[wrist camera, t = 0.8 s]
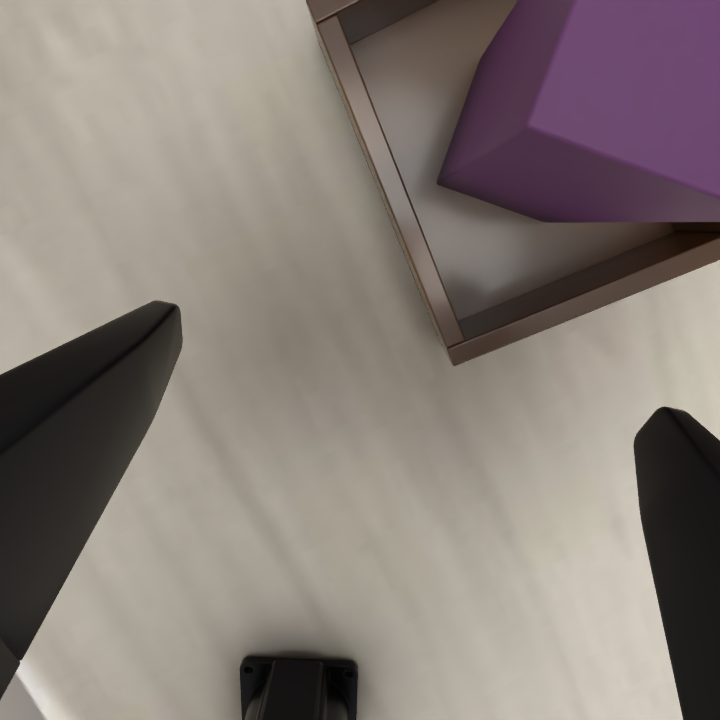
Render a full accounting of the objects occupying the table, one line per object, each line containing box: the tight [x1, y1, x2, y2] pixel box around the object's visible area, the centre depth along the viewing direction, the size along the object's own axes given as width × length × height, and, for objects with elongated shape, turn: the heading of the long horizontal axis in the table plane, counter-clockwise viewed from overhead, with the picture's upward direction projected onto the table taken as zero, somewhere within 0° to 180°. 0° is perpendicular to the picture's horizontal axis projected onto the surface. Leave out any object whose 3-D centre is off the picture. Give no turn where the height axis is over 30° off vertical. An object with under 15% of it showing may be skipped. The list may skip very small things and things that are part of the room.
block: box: [437, 0, 720, 223], centre depth 14 cm, size 5×5×13 cm
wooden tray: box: [306, 0, 720, 366], centre depth 19 cm, size 14×12×4 cm
